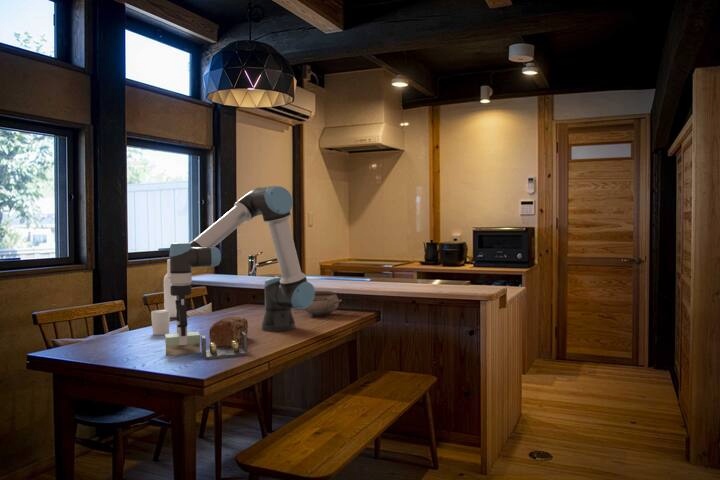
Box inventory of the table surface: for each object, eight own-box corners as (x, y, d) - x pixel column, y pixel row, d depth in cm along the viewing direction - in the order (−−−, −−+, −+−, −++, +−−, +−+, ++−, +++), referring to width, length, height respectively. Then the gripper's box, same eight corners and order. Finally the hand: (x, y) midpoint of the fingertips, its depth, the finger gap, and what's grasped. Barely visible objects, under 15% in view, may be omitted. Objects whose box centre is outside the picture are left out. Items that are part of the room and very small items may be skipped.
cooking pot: (289, 317, 296) (289, 293, 295) (310, 311, 312) (310, 289, 312) (331, 320, 283) (331, 295, 283) (350, 314, 300) (350, 290, 300)
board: (198, 339, 222) (198, 331, 222) (200, 342, 214) (200, 334, 214) (165, 342, 217) (164, 334, 217) (166, 346, 210) (165, 337, 210)
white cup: (164, 335, 252) (163, 312, 252) (148, 335, 254) (147, 312, 253) (173, 332, 260) (173, 309, 260) (157, 331, 261) (157, 309, 261)
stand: (199, 350, 220) (198, 340, 219) (200, 352, 217) (199, 341, 217) (165, 354, 215) (165, 343, 215) (166, 355, 212) (165, 344, 212)
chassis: (243, 348, 221) (242, 330, 221) (248, 355, 210) (248, 336, 210) (200, 352, 216) (200, 334, 216) (204, 359, 205) (203, 339, 204)
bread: (234, 347, 225) (233, 321, 225) (208, 347, 227) (207, 321, 226) (249, 337, 244) (248, 314, 244) (224, 337, 245) (224, 314, 245)
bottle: (171, 318, 300) (170, 260, 299) (161, 317, 304) (159, 259, 303) (183, 315, 307) (182, 259, 306) (173, 314, 311) (171, 258, 310)
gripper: (168, 282, 226) (169, 336, 226) (172, 287, 202) (173, 348, 203) (188, 281, 228) (189, 335, 229) (194, 286, 205) (195, 346, 205)
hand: (181, 341), depth 216 cm, fingers open, 13 cm apart
